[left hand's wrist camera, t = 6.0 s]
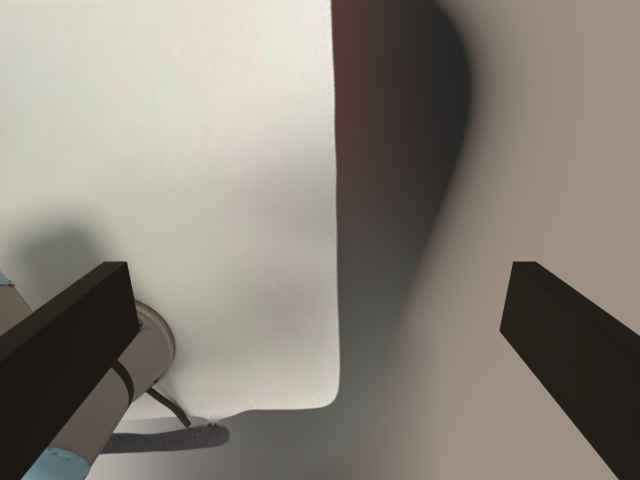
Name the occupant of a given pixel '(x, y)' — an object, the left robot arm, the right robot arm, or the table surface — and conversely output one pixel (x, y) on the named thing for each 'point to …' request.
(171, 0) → the table surface
